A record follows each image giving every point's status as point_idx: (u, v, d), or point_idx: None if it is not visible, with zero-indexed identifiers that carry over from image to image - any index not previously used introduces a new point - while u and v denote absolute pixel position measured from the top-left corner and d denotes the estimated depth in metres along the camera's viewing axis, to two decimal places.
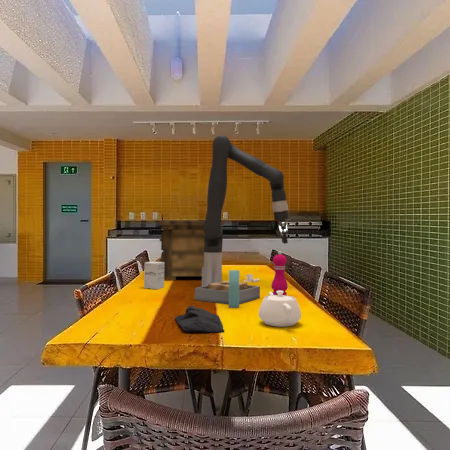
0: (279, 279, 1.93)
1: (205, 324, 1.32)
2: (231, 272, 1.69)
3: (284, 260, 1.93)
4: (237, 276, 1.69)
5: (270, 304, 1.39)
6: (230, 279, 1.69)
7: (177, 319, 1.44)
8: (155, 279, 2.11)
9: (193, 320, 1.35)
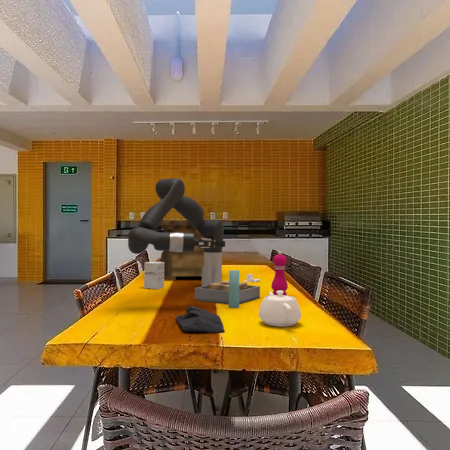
0: (279, 279, 1.93)
1: (205, 324, 1.32)
2: (231, 272, 1.69)
3: (284, 260, 1.93)
4: (237, 276, 1.69)
5: (270, 304, 1.39)
6: (230, 279, 1.69)
7: (178, 319, 1.44)
8: (155, 279, 2.11)
9: (193, 320, 1.35)
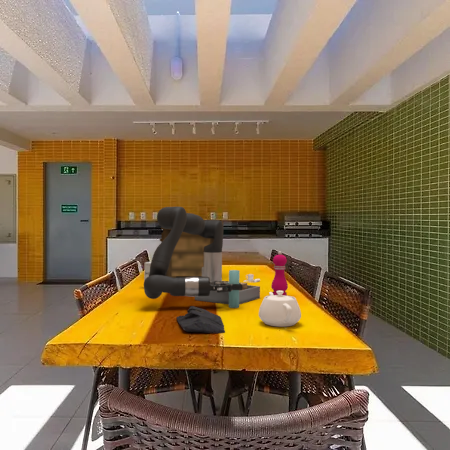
0: (279, 279, 1.93)
1: (205, 325, 1.31)
2: (231, 272, 1.69)
3: (284, 260, 1.93)
4: (237, 276, 1.69)
5: (270, 304, 1.39)
6: (230, 279, 1.69)
7: (178, 319, 1.43)
8: None
9: (194, 320, 1.35)
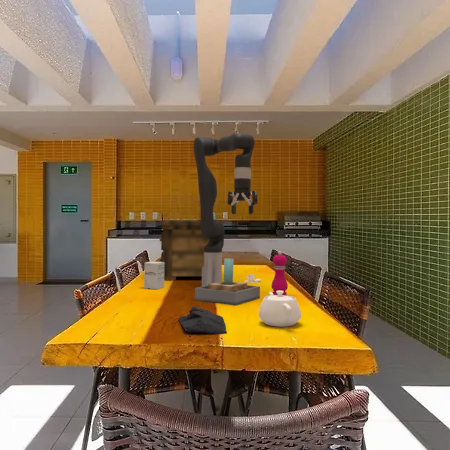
0: (279, 279, 1.93)
1: (207, 325, 1.31)
2: (226, 260, 1.86)
3: (284, 260, 1.93)
4: (231, 263, 1.86)
5: (270, 304, 1.39)
6: (225, 266, 1.86)
7: (180, 320, 1.43)
8: (155, 279, 2.11)
9: (195, 321, 1.34)
